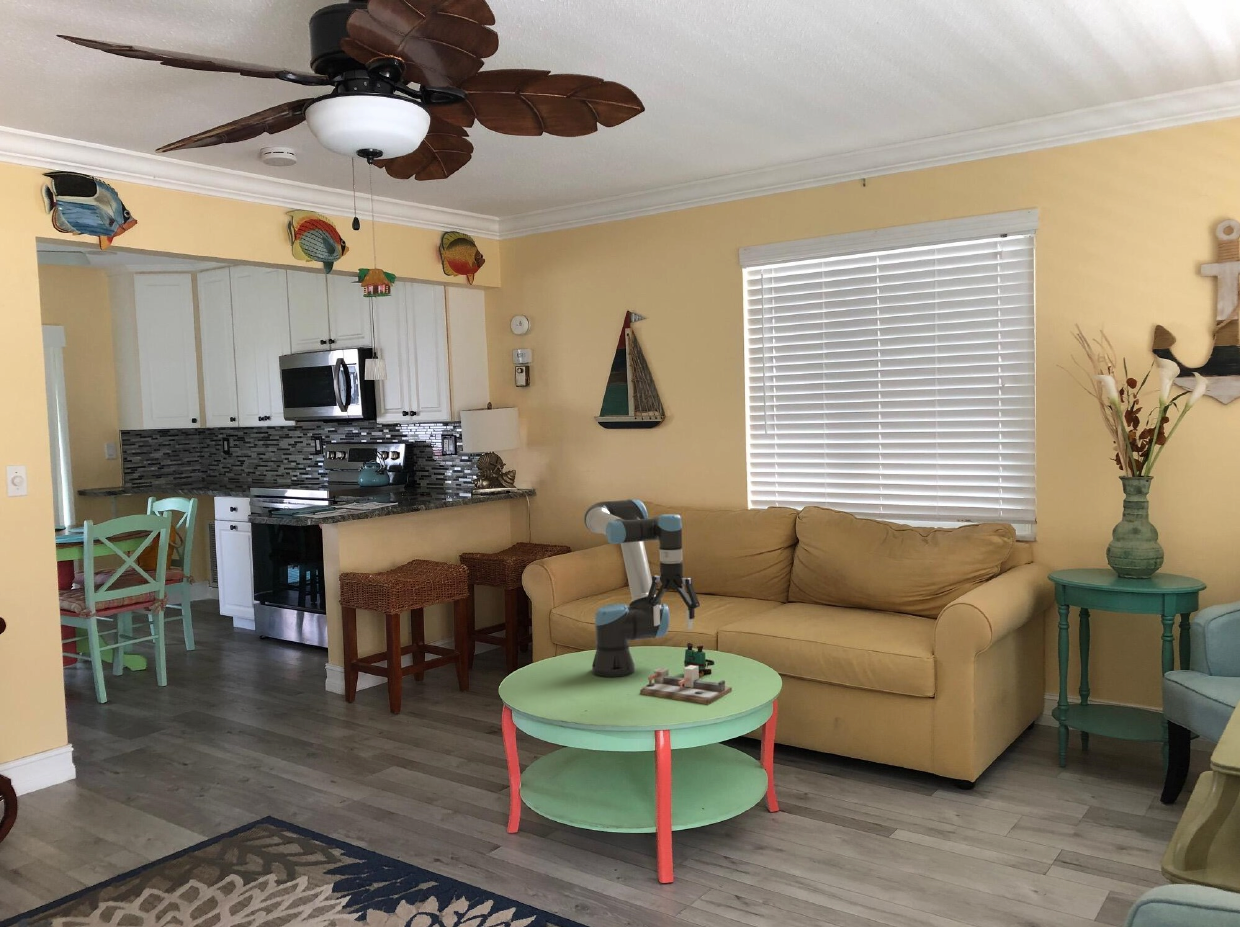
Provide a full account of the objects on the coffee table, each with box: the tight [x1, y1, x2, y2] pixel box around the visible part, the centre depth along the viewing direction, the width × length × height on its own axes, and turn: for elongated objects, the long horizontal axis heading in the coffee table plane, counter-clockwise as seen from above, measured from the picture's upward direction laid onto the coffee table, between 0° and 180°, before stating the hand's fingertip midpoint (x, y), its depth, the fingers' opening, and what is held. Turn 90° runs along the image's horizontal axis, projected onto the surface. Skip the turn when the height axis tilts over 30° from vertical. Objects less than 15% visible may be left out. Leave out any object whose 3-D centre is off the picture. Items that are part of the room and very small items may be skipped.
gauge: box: [639, 667, 733, 705], centre depth 305 cm, size 25×16×5 cm, turn 57°
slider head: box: [679, 665, 700, 689], centre depth 305 cm, size 3×10×6 cm, turn 147°
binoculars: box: [683, 642, 715, 677], centre depth 327 cm, size 9×11×10 cm
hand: (673, 626), depth 310 cm, fingers open, 12 cm apart
